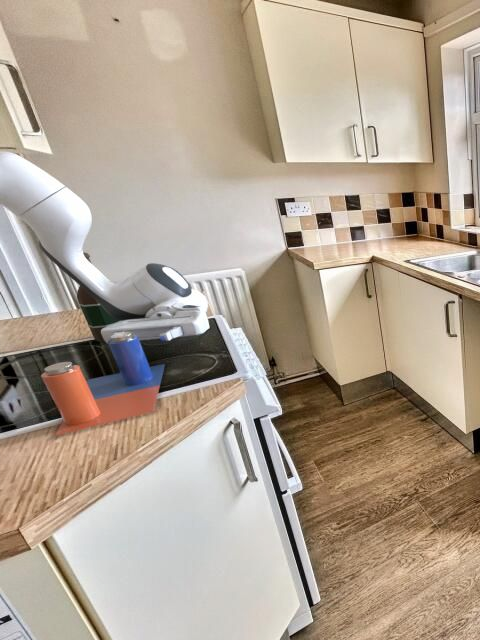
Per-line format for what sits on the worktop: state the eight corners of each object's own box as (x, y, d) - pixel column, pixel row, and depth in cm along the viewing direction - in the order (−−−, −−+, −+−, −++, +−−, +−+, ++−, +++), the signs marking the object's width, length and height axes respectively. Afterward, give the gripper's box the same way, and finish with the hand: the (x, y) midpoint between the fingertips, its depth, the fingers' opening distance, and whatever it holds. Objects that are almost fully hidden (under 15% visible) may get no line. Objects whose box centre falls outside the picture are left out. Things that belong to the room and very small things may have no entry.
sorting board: (55, 438, 75) (54, 435, 75) (88, 381, 95) (87, 379, 95) (154, 413, 82) (153, 411, 82) (165, 365, 102) (164, 363, 102)
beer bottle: (96, 337, 120) (59, 253, 111) (131, 330, 125) (99, 249, 115) (94, 345, 115) (56, 257, 105) (131, 338, 119) (97, 253, 110)
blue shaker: (123, 387, 91) (103, 341, 87) (126, 379, 95) (107, 333, 91) (152, 381, 93) (134, 335, 89) (154, 373, 97) (137, 328, 93)
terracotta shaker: (61, 428, 77) (34, 374, 73) (68, 415, 81) (43, 364, 77) (97, 419, 79) (73, 367, 75) (103, 408, 83) (80, 357, 79)
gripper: (116, 312, 105) (79, 332, 92) (209, 304, 109) (185, 322, 97) (126, 336, 107) (91, 358, 95) (216, 327, 112) (194, 347, 99)
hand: (139, 340), depth 96 cm, fingers open, 8 cm apart
